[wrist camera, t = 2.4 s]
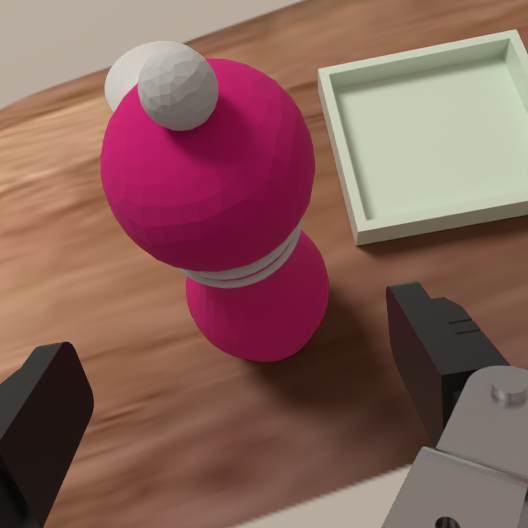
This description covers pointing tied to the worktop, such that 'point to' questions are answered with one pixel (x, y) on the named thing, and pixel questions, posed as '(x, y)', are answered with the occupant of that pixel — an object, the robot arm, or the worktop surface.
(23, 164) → the worktop surface
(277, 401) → the worktop surface
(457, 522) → the robot arm
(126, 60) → the grey rounded block
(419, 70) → the tray
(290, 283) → the pepper mill
